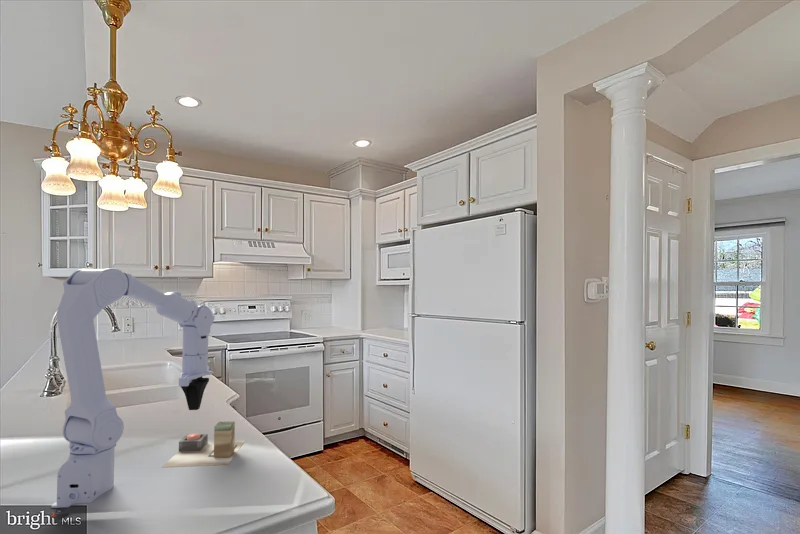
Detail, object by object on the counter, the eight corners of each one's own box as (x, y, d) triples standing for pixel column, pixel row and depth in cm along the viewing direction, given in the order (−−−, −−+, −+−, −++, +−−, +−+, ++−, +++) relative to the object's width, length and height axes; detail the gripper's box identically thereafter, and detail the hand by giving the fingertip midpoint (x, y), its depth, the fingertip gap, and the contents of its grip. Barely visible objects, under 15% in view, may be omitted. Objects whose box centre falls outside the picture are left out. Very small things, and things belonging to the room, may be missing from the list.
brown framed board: (230, 470, 96) (230, 456, 96) (153, 473, 94) (154, 459, 94) (250, 441, 114) (250, 429, 114) (186, 442, 112) (186, 431, 112)
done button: (197, 448, 106) (197, 437, 106) (184, 448, 106) (185, 437, 106) (202, 443, 109) (202, 433, 109) (189, 443, 109) (189, 433, 109)
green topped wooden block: (229, 456, 101) (230, 426, 101) (213, 457, 101) (214, 426, 101) (234, 450, 105) (234, 421, 105) (218, 451, 104) (219, 421, 105)
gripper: (201, 358, 101) (200, 417, 101) (221, 349, 116) (220, 400, 115) (169, 359, 101) (168, 418, 100) (193, 349, 115) (192, 401, 115)
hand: (194, 409), depth 108 cm, fingers closed
